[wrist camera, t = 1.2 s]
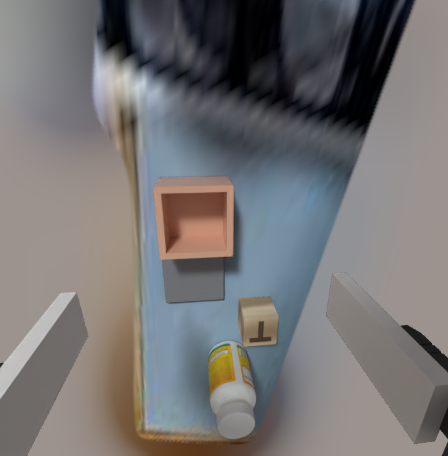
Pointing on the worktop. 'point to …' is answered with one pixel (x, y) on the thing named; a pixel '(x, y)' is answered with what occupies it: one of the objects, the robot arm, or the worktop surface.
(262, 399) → the worktop surface
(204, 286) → the slate coaster
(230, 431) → the supplement bottle
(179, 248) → the pink square bin
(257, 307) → the letter cube
